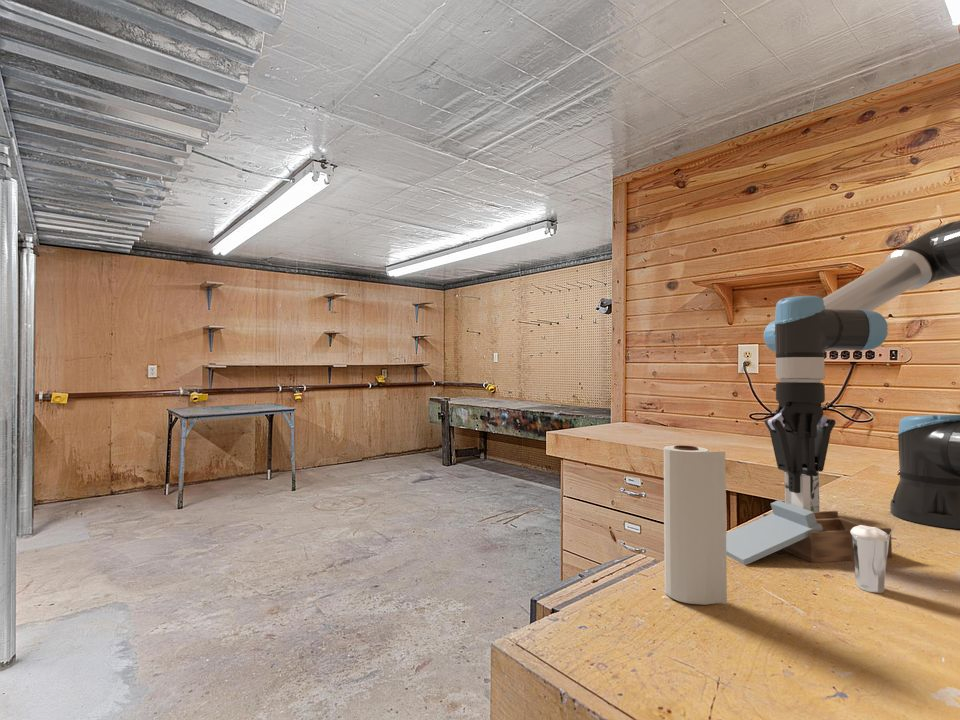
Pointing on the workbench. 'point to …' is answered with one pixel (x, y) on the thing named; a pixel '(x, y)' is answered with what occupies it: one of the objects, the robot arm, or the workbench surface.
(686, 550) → the paper towel roll
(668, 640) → the workbench surface
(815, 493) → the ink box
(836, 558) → the case
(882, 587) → the milkshake
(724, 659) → the workbench surface
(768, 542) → the lid
